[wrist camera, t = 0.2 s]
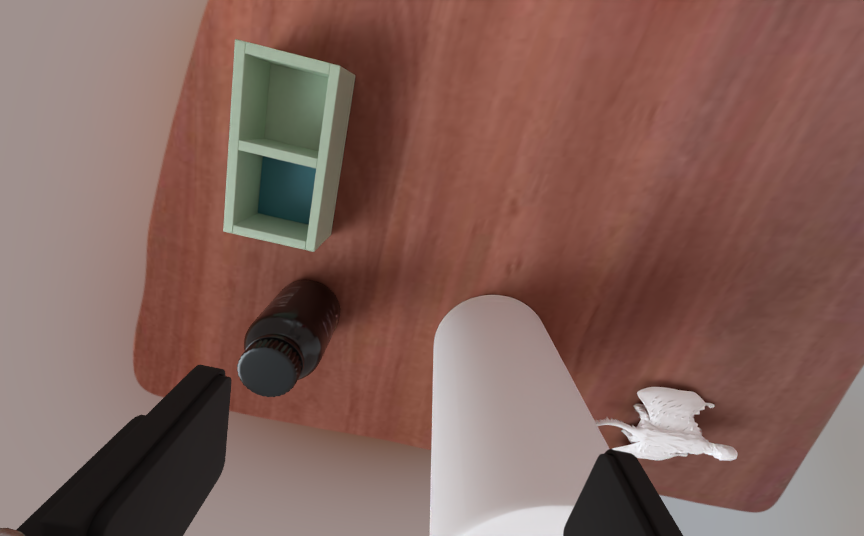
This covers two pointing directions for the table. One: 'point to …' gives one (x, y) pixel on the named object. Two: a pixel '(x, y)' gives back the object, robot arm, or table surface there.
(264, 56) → the box
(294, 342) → the supplement bottle
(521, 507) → the cylinder
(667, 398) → the white dragon
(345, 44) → the table surface
